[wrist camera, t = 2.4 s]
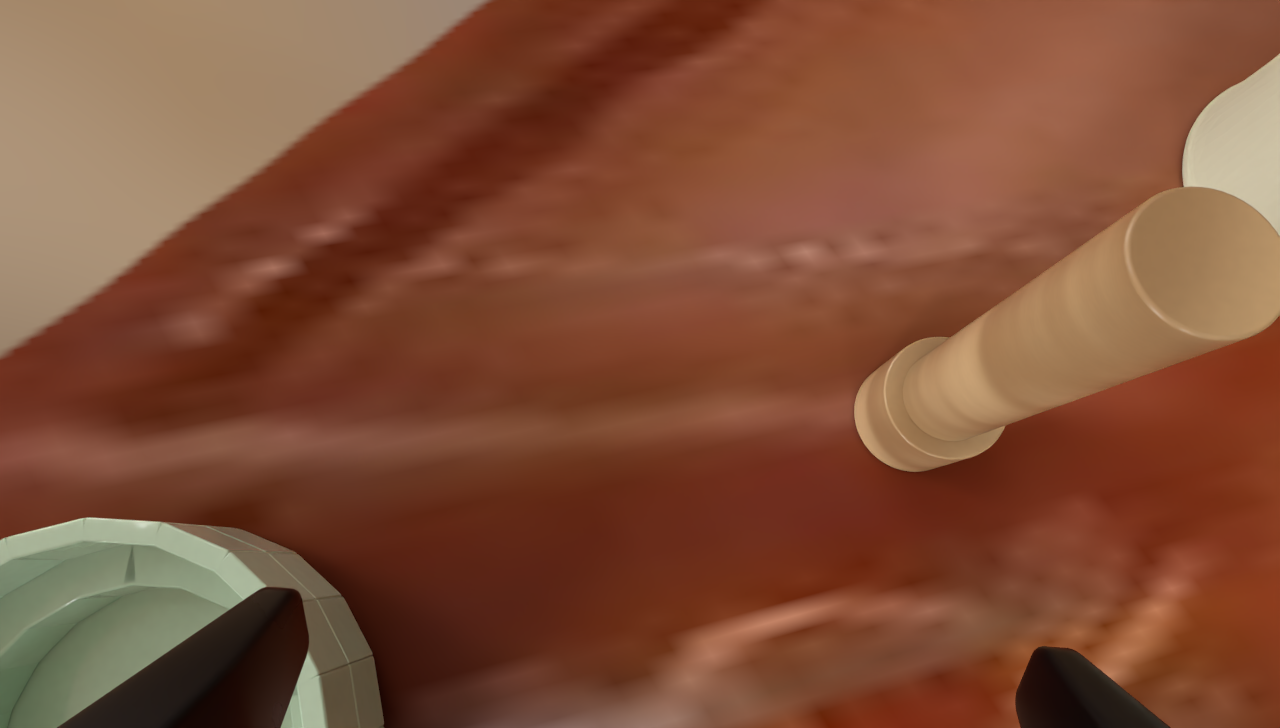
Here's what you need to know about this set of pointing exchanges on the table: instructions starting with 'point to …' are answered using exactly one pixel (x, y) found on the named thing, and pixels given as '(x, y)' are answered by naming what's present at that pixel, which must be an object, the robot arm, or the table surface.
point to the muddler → (1080, 328)
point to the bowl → (158, 616)
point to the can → (1240, 143)
